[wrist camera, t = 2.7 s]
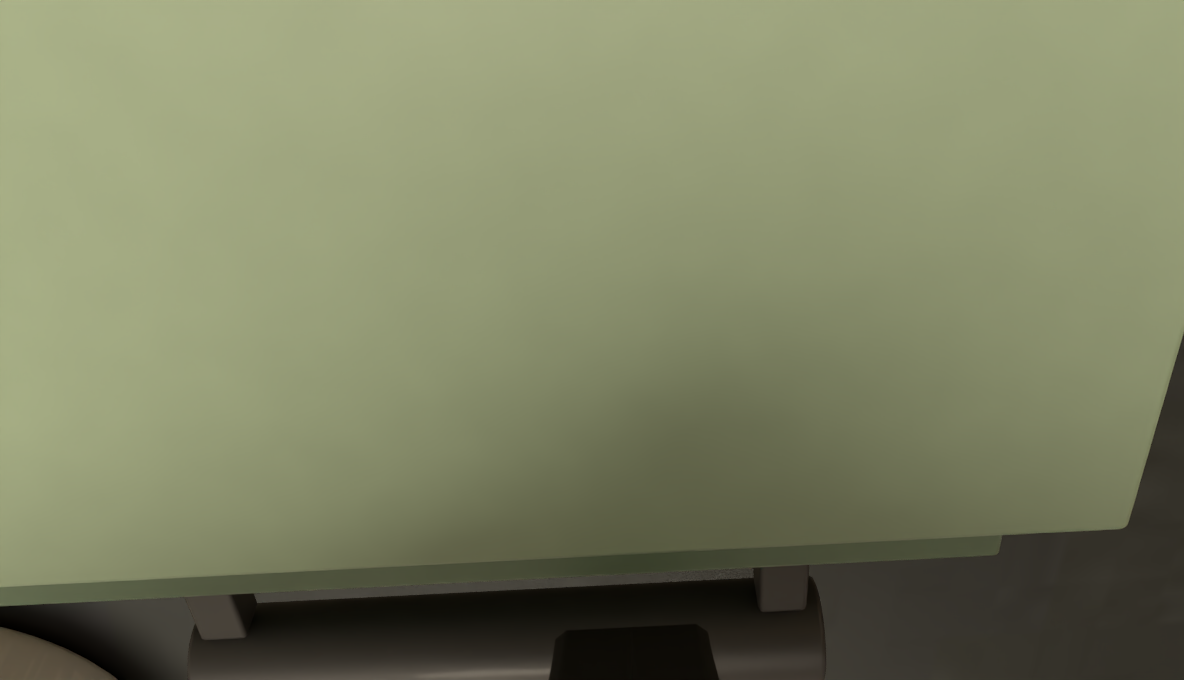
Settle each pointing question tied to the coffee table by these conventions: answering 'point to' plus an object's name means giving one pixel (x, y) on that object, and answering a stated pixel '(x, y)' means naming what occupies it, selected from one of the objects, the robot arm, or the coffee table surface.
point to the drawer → (504, 613)
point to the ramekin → (43, 660)
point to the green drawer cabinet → (576, 276)
